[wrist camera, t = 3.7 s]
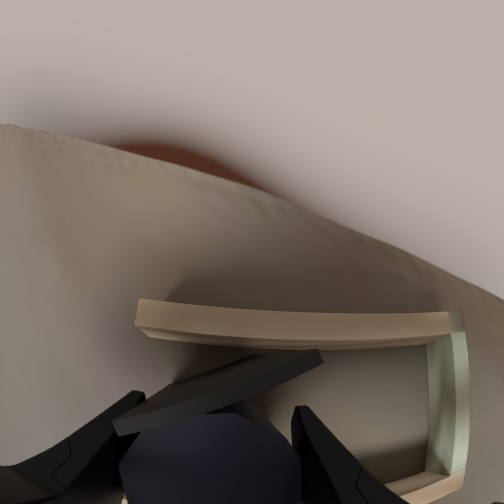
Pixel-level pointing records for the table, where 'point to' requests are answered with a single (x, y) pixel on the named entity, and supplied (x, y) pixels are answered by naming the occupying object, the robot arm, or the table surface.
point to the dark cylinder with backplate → (214, 438)
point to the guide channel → (345, 338)
